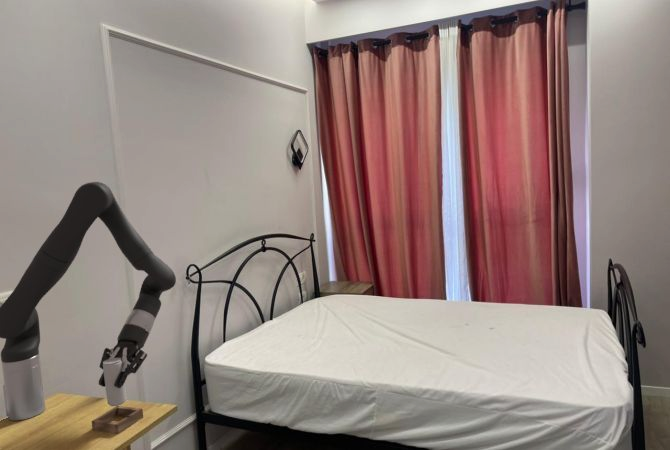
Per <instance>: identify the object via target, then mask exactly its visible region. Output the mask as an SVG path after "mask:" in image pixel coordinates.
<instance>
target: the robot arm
mask: <svg viewBox="0 0 670 450" xmlns="http://www.w3.org/2000/svg"><path fill="white" fill-rule="evenodd" d="M98 218H99V220H100V221H101V222H103V224H104V225H105V227H106V228H107V229H108V231H109V232H110V234H111V236H112V237H113V239H114V241H115V243H116V245H117V246H118V248H119V250H120V251H121V253H122V254H123V255H124V257H125V258H126V259H127V261H128V262H129V263H130V264H131V266H132V267H133V268H134V269H135V270H137V271H138V272H139V271H141V272H145V274H147V275H146V277H145V278H144V280H143V281H142V283H141V288H140V290H139V294H138V299H137V301H136V302H135V304H134V306H133V308H132V310H131V312H130V313H129V315H128V316H127V319H126V320H125V322H124V324H123V327H122V328H121V330H120V332H119V334H118V336H117V344H116V345H115V346H114V347H113V348H110V349H109V348H108V347H106V348H105V349H104V350H103V354H102V356H101V360H100V363H99V368H100V369H101V370H103V362H104V361H105V360H108V359H111V358H121V360H122V369H121V371H122V372H120V373H119V375H118V377H117V379H116V381H115V384H114V386H115V387H117V388H121V387H122V386H123V385H124V383H125V382H126V380H127V379H128V378H127V377H129V376H130V374H136V373H137V372H138V370H139V369H140V368H141V365H142V364H143V363H144V361H145V360H146V359H147V357H148V353H146V352H145V350H143V348H144V346H145V344H146V342H147V340H148V337H149V335H150V333H151V331H152V329H153V327H154V325H155V321H156V318H157V316H158V314H159V312H160V309H161V306H162V301H161V299H160V297H161V296H162V293H164V292H167V291H169V290H171V289H172V288H174V287H175V285H176V282H177V278H176V275H175V272H174V270H172V268H171V267H170V266H169V265H168V264H167V263H165V262H164V261H163V260H162V259H161V258H159V257H158V256H157V255H155V254H154V252H153V250H152V249H151V248H150V247H149V245H148V244H147V242H146V241H145V240H144V239H143V238H142V237H141V235H140V234H139V232H137V230H136V229H135V228H134V226H133V225H132V224H131V222H130V221H129V219H128V218H127V217H126V215H125V213H124V211H122V208H121V207H120V205H119V202H118V201H117V200H116V197H115V195H114V193H113V191H112V190H111V188H110V187H109V186H108V185H107V184H105V183H103V182H100V181H91V182H87V183H84V184H81V186H79V187H78V188H77V190H76V191H75V193H74V195H73V197H72V199H71V201H70V203H69V205H68V207H67V209H66V211H65V213H64V215H63V217H62V218H61V219H60V221H59V223H58V224H57V225H56V226H55V228H54V229H53V230H52V231H51V233H50V234H49V235H48V237H47V238H46V239H45V241H44V242H43V243H42V245H41V246H40V247H39V249H38V250H37V252H36V254H35V255H34V257H33V258H32V260H31V262H30V264H29V265H28V267H27V268H26V269H25V271H24V273H23V274H22V277H21V278H20V279H19V282H18V284H17V285H16V286H15V288H14V289H13V290H12V292H11V293H10V294H9V296H8V297H7V298H6V300H5V301H4V302H3V303H2V304H1V306H0V339H4V340H5V341H4V345H3V348H2V349H1V351H0V361H1V367H2V369H1V370H2V375H3V383H4V384H3V385H2V390H3V398H4V406H5V413H6V417H7V418H8V419H9V420H10V421H23V420H27V419H30V418H34V417H35V416H38V415H40V414H41V413H43V412H44V411H45V410H46V401H45V400H46V399H45V391H44V383H43V375H42V367H41V360H40V351H39V349H40V343H41V331H40V330H41V329H40V319H39V313H38V311H37V309H36V308H37V306H38V304H39V303H40V302H41V300H42V299H43V298H44V297H45V295H46V294H48V292H50V291H51V289H52V288H53V287H55V286H56V284H58V282H59V281H60V280H61V279H62V278H63V276H65V274H66V273H67V271H68V270H69V268H70V267H71V265H72V264H73V262H74V260H75V259H76V256H77V255H78V253H79V251H80V249H81V246H82V243H83V240H84V238H85V236H86V233H87V232H88V231H89V229H90V228H91V227H92V225H93V224H94V223H95V221H96V220H97V219H98ZM98 385H99V386H101V387H104V388H106V387H105V380H104V372H103V371H102V374H101V376H100V377H99V379H98Z"/></svg>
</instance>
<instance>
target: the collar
mask: <svg viewBox="0 0 670 450" xmlns="http://www.w3.org/2000/svg"><path fill="white" fill-rule="evenodd" d="M118 417H122V419H120V420H119V421H118V422H116V421H113V420H115V419H116V418H118ZM143 418H144V412H143V408H139V407H130V406H123V405H122V406H121V405H118V406H113V408H111V409H109V410H108V411H106V412H105V413H103V414H102V415H99V416H98V417H97V418H94V419H93V420H91V427H92V428H91V429H92V431H97V432H103V433H110V434H117V435H119V434H121V433H123V432H124V431H126V430H127V429H128V428H130V427H131V426H133V425H134V424H136V423H137V422H139V421H140V420H142V419H143Z"/></svg>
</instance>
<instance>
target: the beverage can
mask: <svg viewBox="0 0 670 450" xmlns="http://www.w3.org/2000/svg"><path fill="white" fill-rule="evenodd" d="M121 369H122V360H121V358H111V359H108V360H105V361H104V362H103V369H102V370H103V371H102V373H103V372H104V380H105V387H104V388H105V394H106V400H107V405H109V406H110V407H116V406H121V405H122V404H125V403H126V401H127V400H128V399H127V390H126V384H125V383H124V385H123V386H122V387H121V388H117V387H115V386H114V384H115V381H116V379H117V377H118V375H119V373H120V372H122V371H121Z"/></svg>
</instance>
